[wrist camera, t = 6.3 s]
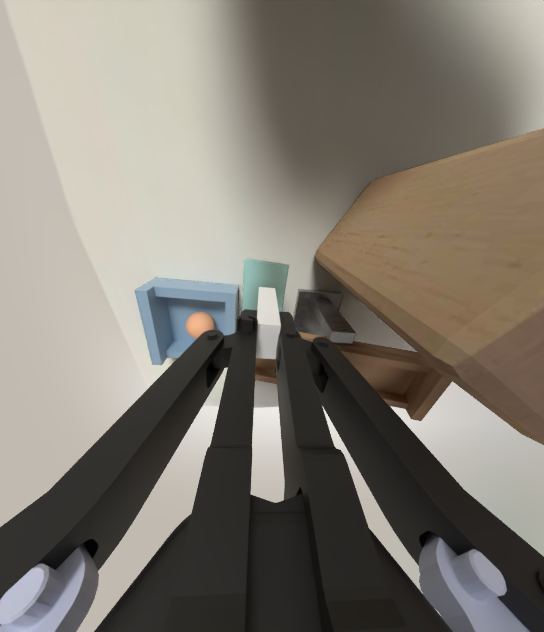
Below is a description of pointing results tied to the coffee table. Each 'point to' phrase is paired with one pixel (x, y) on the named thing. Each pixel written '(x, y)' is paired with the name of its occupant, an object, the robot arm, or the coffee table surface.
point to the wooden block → (459, 269)
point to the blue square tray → (182, 312)
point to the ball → (199, 324)
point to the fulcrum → (322, 316)
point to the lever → (355, 352)
